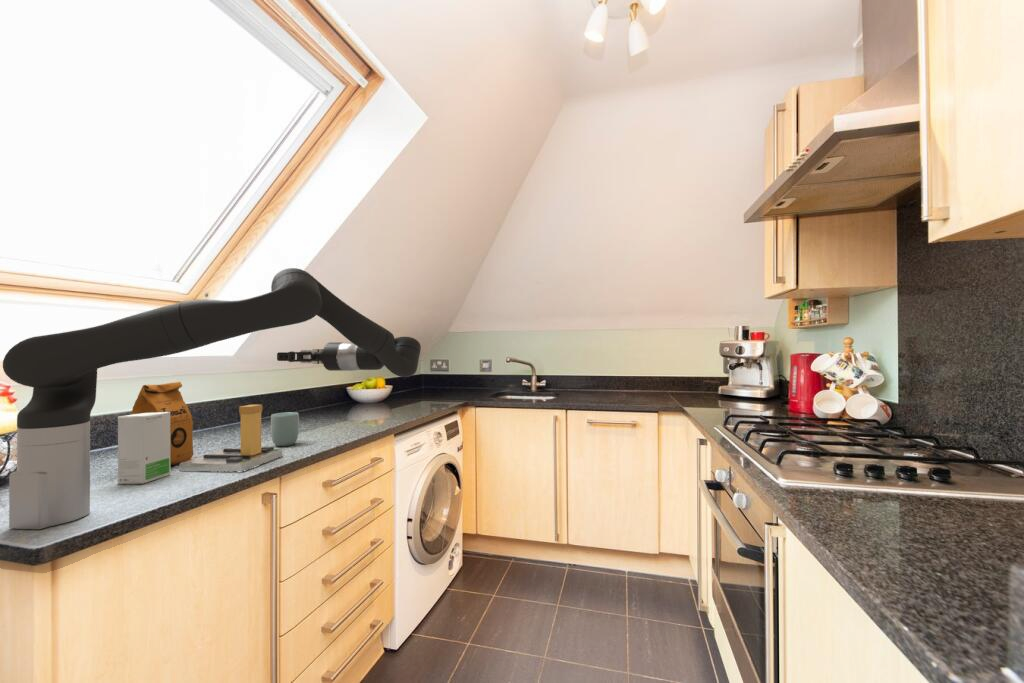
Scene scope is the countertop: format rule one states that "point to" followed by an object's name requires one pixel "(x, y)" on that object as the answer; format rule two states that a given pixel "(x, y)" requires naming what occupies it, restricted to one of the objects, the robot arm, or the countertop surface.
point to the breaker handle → (250, 429)
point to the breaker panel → (230, 460)
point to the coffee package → (180, 416)
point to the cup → (284, 428)
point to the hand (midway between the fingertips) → (287, 356)
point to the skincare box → (143, 447)
